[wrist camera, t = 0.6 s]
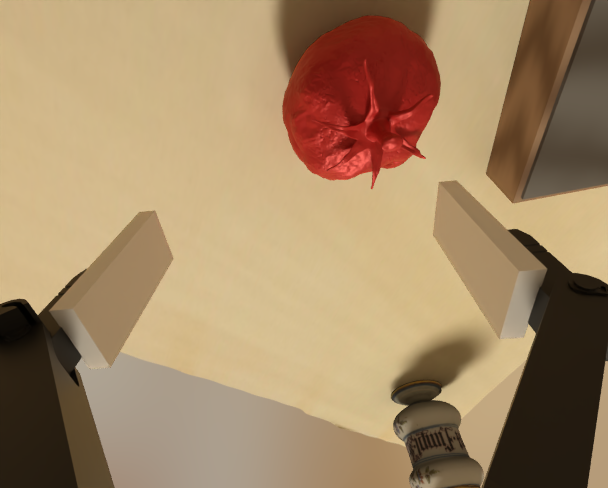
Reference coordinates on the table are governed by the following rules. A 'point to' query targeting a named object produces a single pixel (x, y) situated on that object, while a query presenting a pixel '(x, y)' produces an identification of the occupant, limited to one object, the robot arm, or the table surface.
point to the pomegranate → (361, 98)
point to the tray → (555, 104)
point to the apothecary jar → (433, 439)
